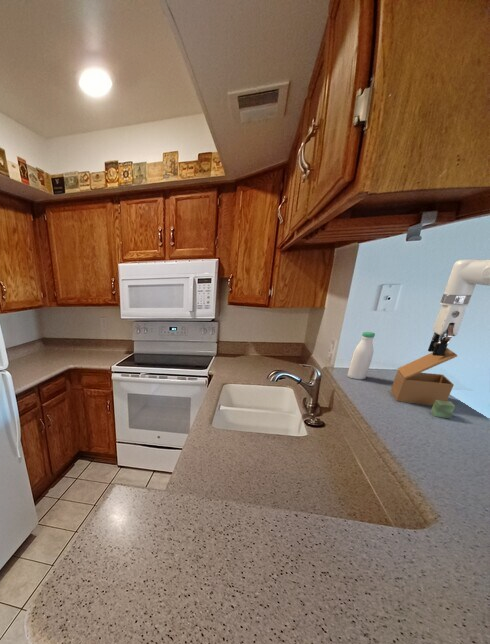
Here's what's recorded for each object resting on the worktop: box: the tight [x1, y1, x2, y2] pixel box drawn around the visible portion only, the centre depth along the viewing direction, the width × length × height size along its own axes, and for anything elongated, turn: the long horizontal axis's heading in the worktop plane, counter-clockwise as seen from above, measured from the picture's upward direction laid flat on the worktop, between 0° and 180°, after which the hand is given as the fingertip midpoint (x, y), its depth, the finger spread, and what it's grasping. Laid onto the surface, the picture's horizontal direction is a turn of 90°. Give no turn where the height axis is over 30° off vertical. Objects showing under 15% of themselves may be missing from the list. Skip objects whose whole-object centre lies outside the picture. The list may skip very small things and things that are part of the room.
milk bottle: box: [347, 331, 376, 380], centre depth 146 cm, size 8×8×20 cm
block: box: [430, 400, 456, 419], centre depth 114 cm, size 4×4×4 cm
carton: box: [390, 369, 454, 406], centre depth 126 cm, size 15×12×9 cm
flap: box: [397, 342, 458, 379], centre depth 122 cm, size 16×12×5 cm
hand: (435, 352), depth 120 cm, fingers closed on flap, 5 cm apart
